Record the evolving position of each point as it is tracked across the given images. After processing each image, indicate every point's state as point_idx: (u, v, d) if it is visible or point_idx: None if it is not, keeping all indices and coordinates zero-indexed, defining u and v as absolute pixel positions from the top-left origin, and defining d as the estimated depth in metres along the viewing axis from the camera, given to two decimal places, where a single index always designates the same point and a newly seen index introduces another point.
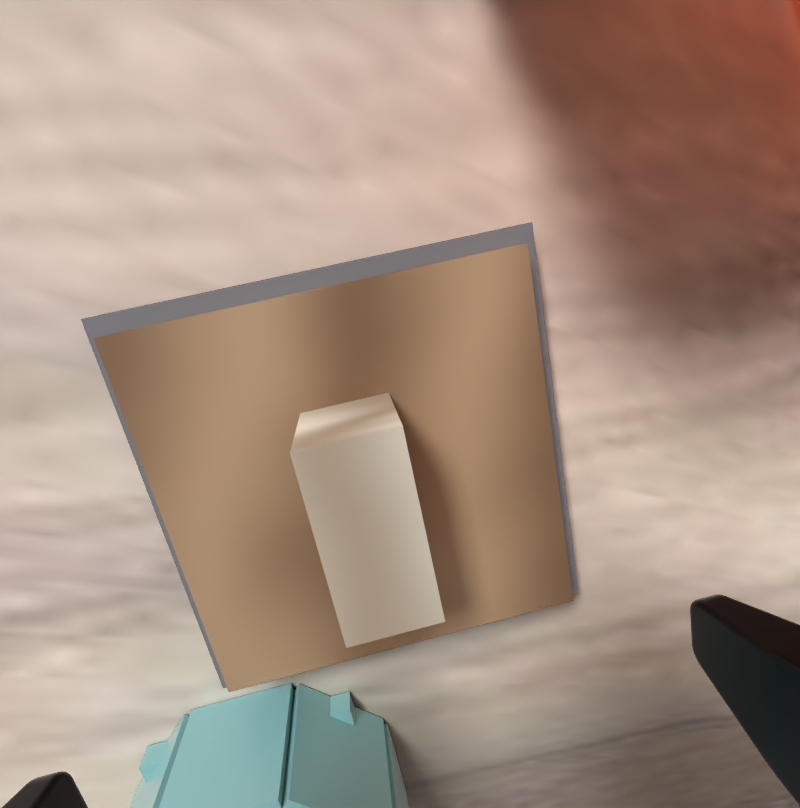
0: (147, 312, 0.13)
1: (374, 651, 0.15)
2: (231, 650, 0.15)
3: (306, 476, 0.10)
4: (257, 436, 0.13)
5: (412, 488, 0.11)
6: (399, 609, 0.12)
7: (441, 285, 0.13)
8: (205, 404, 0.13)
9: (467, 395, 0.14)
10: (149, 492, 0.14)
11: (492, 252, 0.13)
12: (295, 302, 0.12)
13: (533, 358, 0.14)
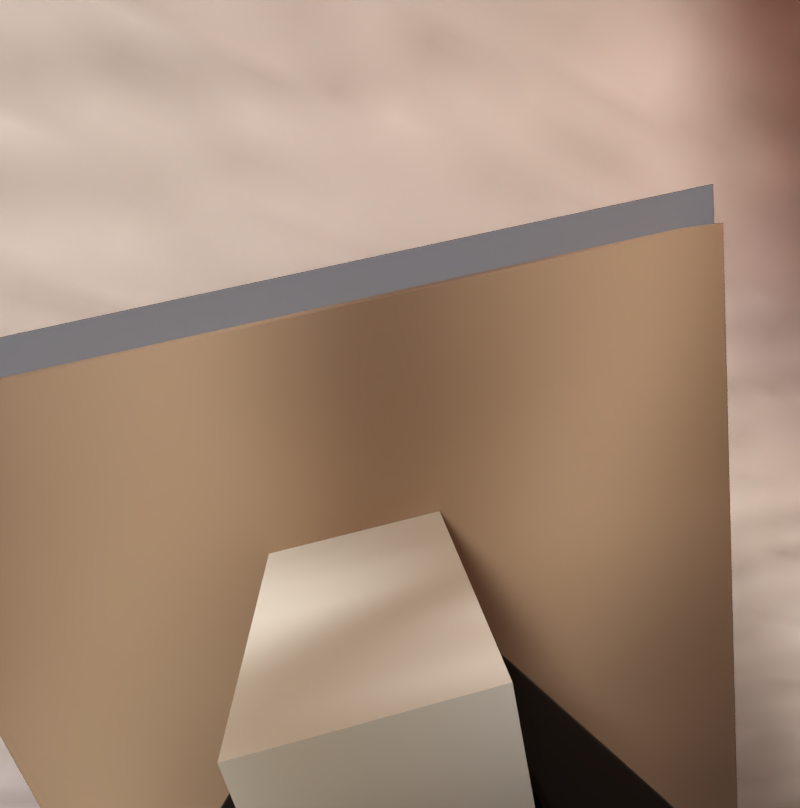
0: None
1: None
2: None
3: None
4: (186, 598, 0.07)
5: None
6: None
7: (548, 306, 0.06)
8: (78, 543, 0.06)
9: (585, 511, 0.07)
10: None
11: (653, 240, 0.06)
12: (255, 342, 0.06)
13: (712, 442, 0.07)
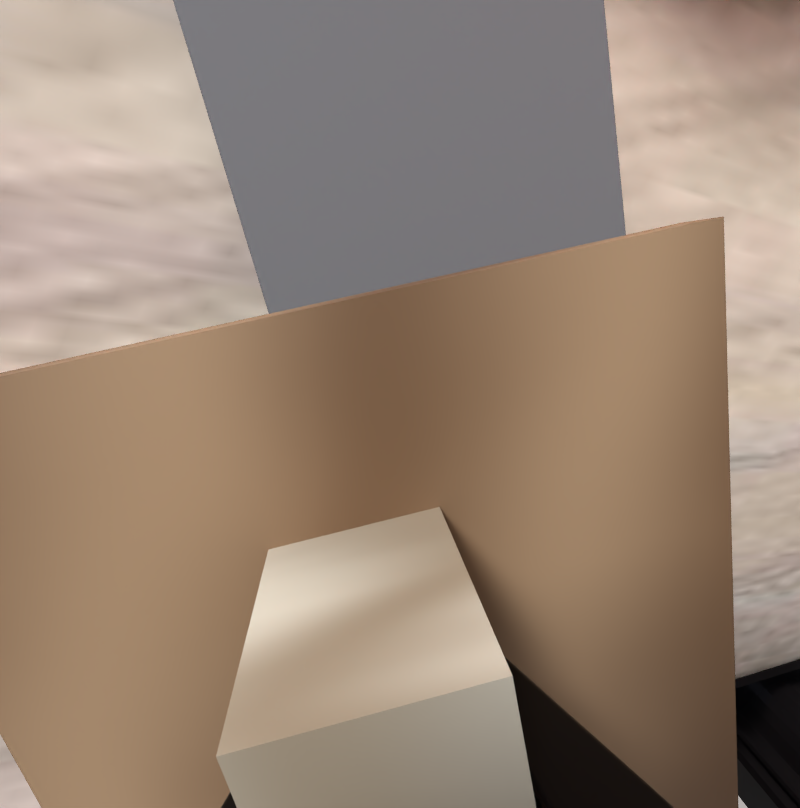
0: None
1: None
2: None
3: (262, 805, 0.04)
4: (185, 594, 0.07)
5: (526, 805, 0.04)
6: None
7: (548, 300, 0.06)
8: (77, 539, 0.06)
9: (586, 506, 0.07)
10: (216, 140, 0.14)
11: (653, 234, 0.06)
12: (254, 336, 0.06)
13: (712, 437, 0.07)
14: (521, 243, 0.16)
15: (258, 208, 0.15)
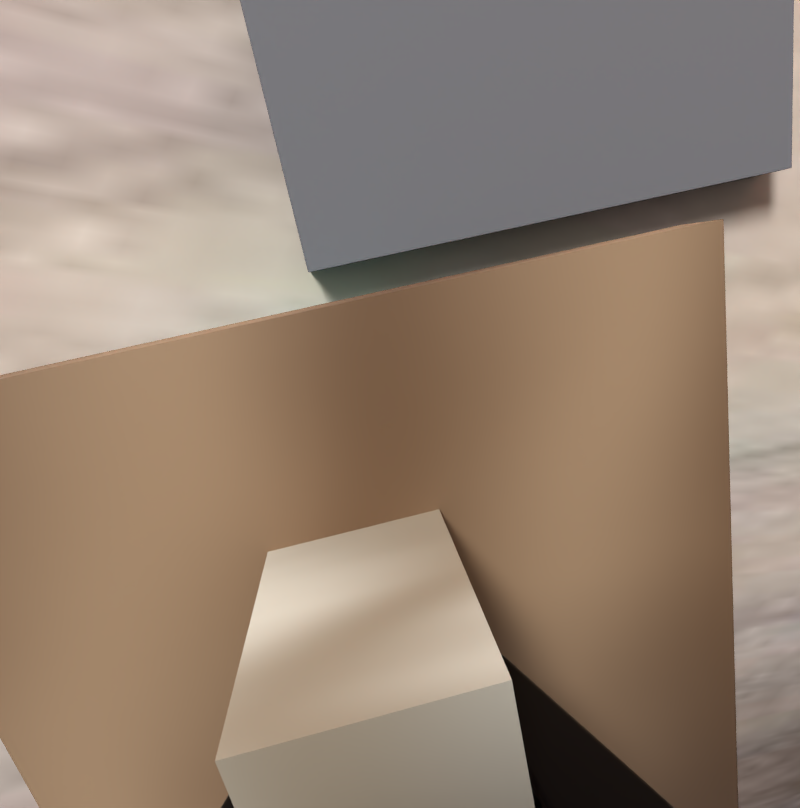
0: None
1: None
2: None
3: None
4: (184, 596, 0.07)
5: None
6: None
7: (548, 302, 0.06)
8: (76, 542, 0.06)
9: (585, 508, 0.07)
10: None
11: (653, 236, 0.06)
12: (253, 339, 0.06)
13: (712, 439, 0.07)
14: (648, 97, 0.11)
15: (275, 17, 0.10)
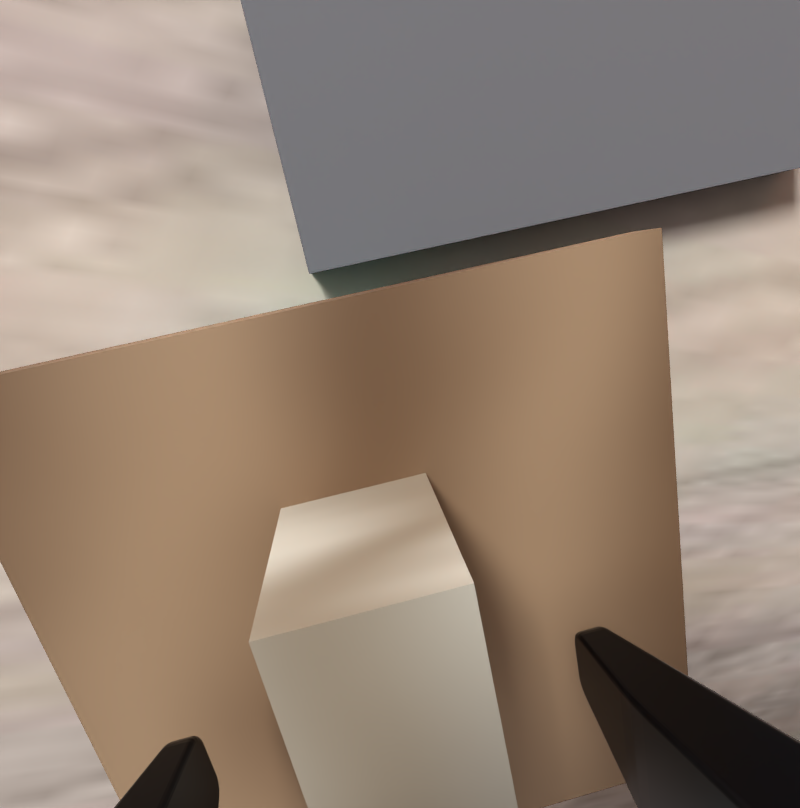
0: None
1: None
2: None
3: (283, 682, 0.05)
4: (210, 546, 0.08)
5: (487, 690, 0.06)
6: None
7: (515, 298, 0.08)
8: (121, 498, 0.08)
9: (550, 473, 0.08)
10: None
11: (602, 242, 0.08)
12: (269, 327, 0.07)
13: (658, 414, 0.08)
14: (670, 89, 0.11)
15: (274, 2, 0.09)
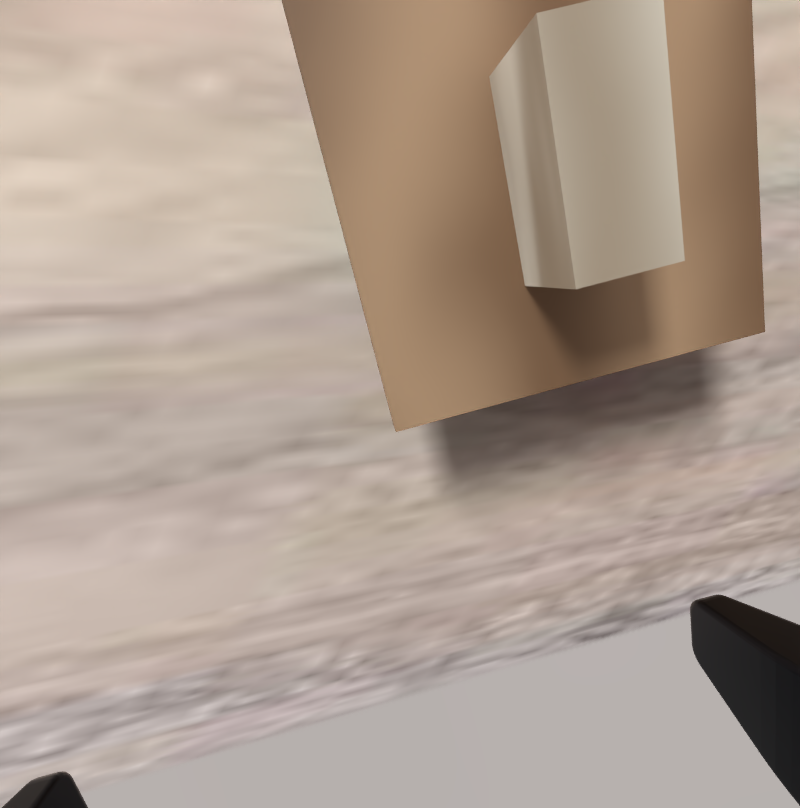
0: None
1: (551, 387, 0.14)
2: (401, 379, 0.13)
3: (552, 46, 0.09)
4: (442, 105, 0.12)
5: (664, 73, 0.09)
6: (636, 240, 0.10)
7: None
8: (389, 61, 0.12)
9: (668, 59, 0.12)
10: None
11: None
12: None
13: (742, 14, 0.12)
14: None
15: None
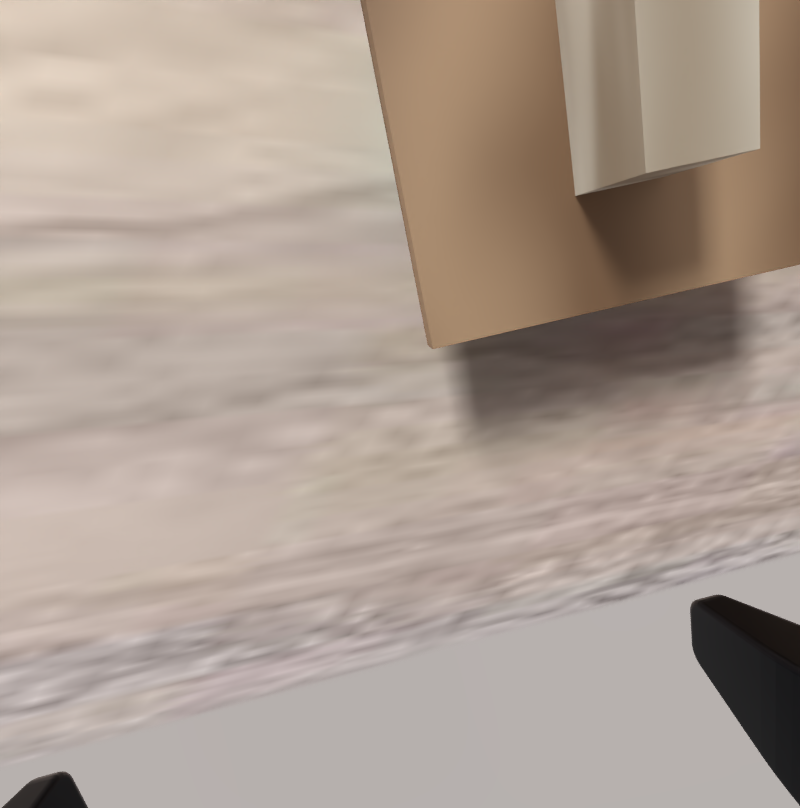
0: None
1: (596, 308, 0.13)
2: (441, 291, 0.13)
3: None
4: None
5: None
6: (712, 122, 0.10)
7: None
8: None
9: None
10: None
11: None
12: None
13: None
14: None
15: None
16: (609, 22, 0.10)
